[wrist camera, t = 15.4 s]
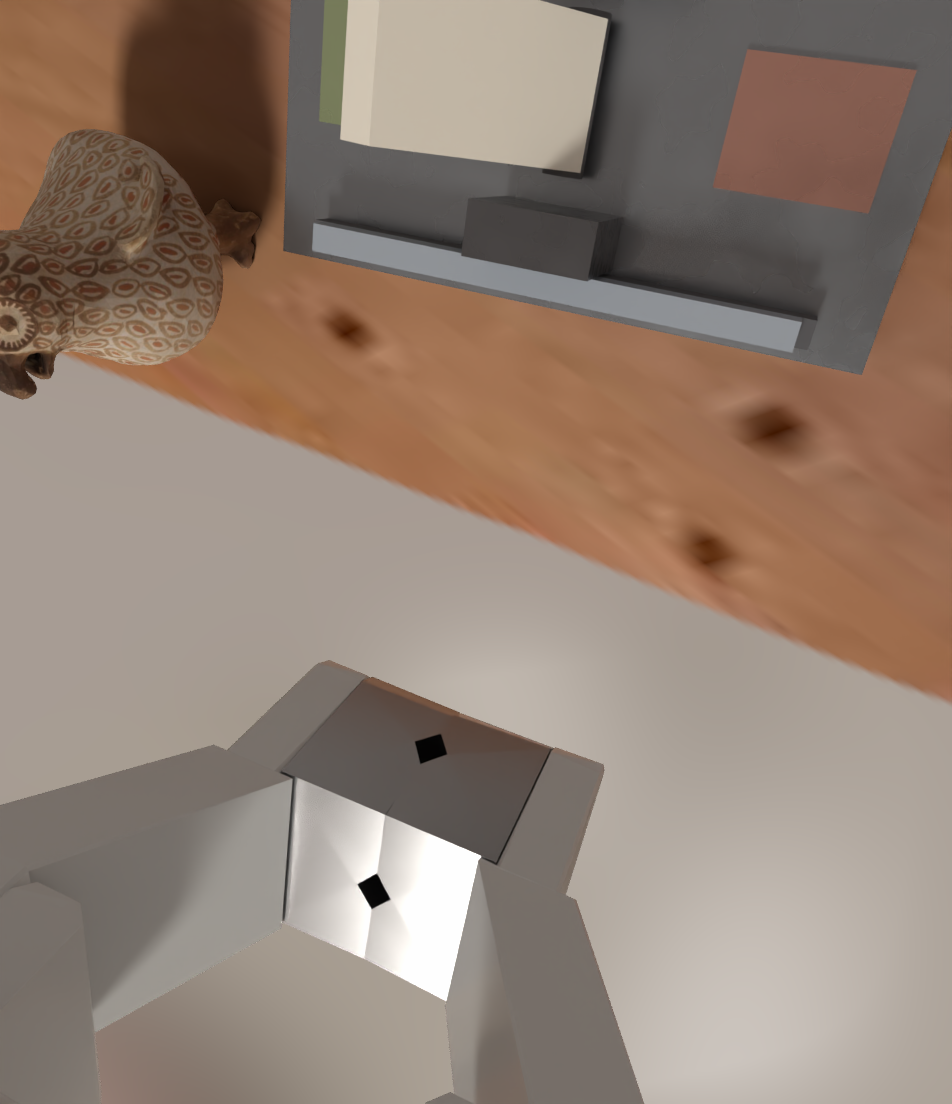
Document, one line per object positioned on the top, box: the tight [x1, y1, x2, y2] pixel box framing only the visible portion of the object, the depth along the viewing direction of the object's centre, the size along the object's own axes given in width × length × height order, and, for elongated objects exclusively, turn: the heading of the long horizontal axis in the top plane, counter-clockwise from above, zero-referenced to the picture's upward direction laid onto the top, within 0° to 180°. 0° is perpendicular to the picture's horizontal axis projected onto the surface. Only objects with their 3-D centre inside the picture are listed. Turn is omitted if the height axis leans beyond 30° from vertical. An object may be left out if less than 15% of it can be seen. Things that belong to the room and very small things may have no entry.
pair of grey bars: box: [312, 218, 818, 353], centre depth 27 cm, size 19×13×2 cm
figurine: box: [0, 129, 261, 399], centre depth 32 cm, size 9×10×15 cm
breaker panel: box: [283, 0, 952, 375], centre depth 28 cm, size 23×14×7 cm, turn 81°
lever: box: [340, 0, 612, 179], centre depth 25 cm, size 2×5×9 cm
